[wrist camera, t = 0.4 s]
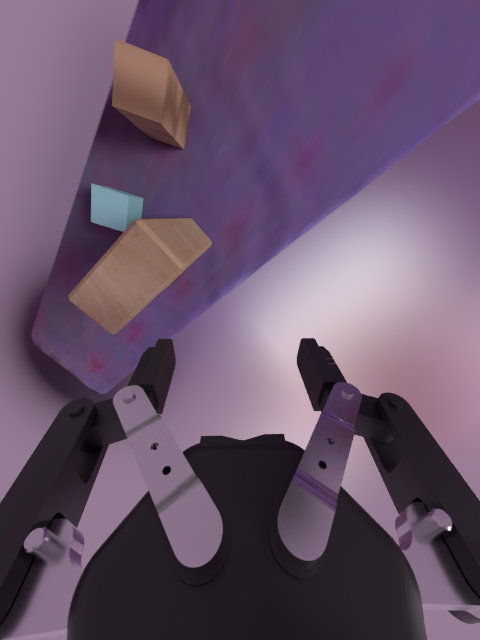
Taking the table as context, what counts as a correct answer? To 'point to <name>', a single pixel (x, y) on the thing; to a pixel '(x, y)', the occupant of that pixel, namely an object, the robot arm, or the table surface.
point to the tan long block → (150, 94)
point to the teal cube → (114, 207)
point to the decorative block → (138, 269)
